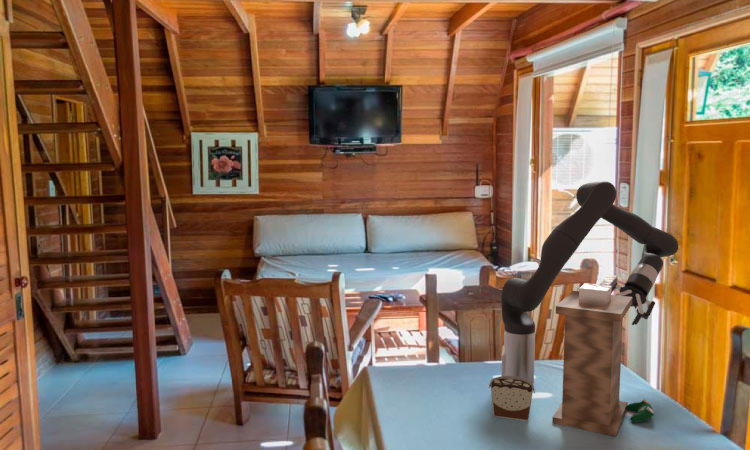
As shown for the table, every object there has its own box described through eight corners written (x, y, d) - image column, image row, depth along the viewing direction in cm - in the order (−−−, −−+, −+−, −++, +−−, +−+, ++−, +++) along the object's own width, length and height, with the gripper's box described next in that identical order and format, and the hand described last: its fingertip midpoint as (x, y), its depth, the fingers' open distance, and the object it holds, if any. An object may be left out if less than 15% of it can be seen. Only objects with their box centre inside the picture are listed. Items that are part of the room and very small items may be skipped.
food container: (536, 412, 169) (536, 378, 168) (534, 421, 164) (535, 386, 162) (491, 406, 173) (491, 373, 172) (488, 415, 168) (488, 380, 166)
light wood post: (578, 302, 162) (579, 288, 162) (600, 280, 189) (601, 268, 189) (606, 305, 159) (607, 290, 158) (624, 282, 186) (625, 270, 185)
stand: (552, 422, 163) (555, 306, 159) (569, 396, 180) (573, 290, 176) (615, 436, 155) (621, 314, 151) (627, 407, 172) (632, 297, 168)
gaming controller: (639, 430, 162) (657, 417, 161) (629, 420, 163) (647, 406, 161) (634, 416, 171) (651, 403, 169) (624, 406, 171) (641, 393, 170)
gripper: (623, 263, 198) (601, 299, 191) (666, 285, 192) (645, 322, 185) (617, 276, 204) (596, 310, 197) (659, 297, 198) (638, 334, 191)
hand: (620, 316), depth 191 cm, fingers open, 8 cm apart
